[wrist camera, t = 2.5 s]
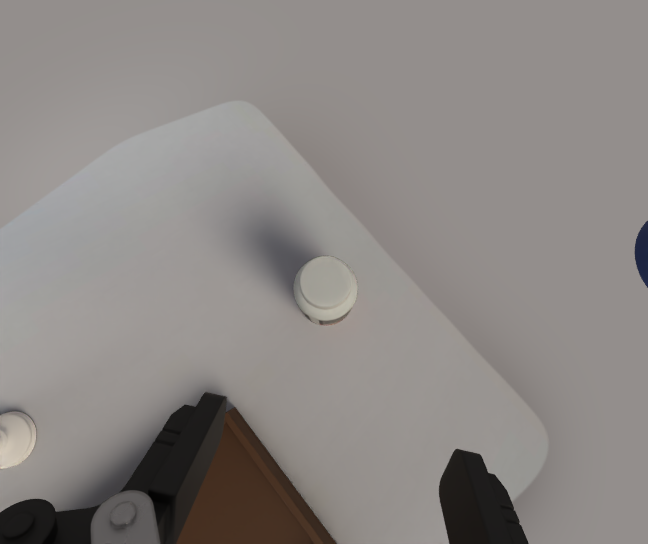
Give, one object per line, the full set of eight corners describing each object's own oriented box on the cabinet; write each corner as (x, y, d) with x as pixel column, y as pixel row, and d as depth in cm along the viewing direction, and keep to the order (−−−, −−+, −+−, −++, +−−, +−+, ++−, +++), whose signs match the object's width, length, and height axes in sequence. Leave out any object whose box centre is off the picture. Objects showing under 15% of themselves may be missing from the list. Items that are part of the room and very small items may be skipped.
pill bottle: (358, 282, 37) (370, 258, 27) (344, 332, 36) (350, 326, 26) (308, 267, 37) (302, 238, 27) (292, 317, 36) (279, 305, 26)
